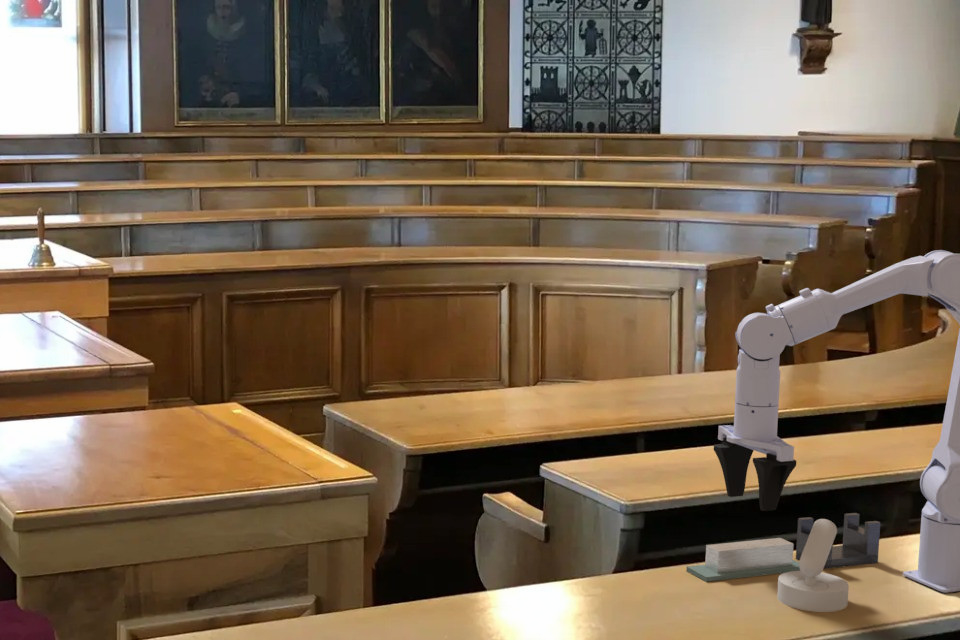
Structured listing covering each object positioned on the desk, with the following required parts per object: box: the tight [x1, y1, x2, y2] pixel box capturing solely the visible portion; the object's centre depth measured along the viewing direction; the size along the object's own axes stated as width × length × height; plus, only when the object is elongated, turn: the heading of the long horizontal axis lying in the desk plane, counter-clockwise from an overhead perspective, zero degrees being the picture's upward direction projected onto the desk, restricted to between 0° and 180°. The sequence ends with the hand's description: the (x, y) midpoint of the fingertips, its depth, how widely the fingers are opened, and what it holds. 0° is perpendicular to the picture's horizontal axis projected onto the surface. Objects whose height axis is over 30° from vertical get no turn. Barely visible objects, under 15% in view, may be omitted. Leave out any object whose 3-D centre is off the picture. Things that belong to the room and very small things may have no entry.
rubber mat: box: [685, 559, 801, 582], centre depth 173 cm, size 16×5×1 cm, turn 113°
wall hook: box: [776, 518, 849, 613], centre depth 161 cm, size 9×10×10 cm
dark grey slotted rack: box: [795, 512, 881, 570], centre depth 178 cm, size 10×5×6 cm, turn 113°
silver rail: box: [704, 537, 794, 573], centre depth 173 cm, size 12×3×3 cm, turn 113°
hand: (751, 502), depth 172 cm, fingers open, 7 cm apart
